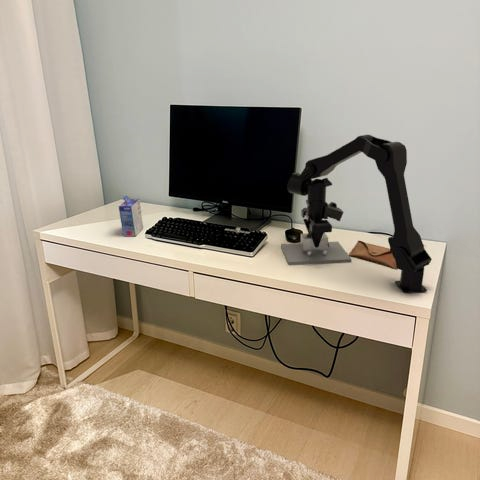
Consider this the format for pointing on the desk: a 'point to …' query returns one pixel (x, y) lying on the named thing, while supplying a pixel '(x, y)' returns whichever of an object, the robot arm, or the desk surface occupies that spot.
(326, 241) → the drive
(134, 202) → the ink cartridge box
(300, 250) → the pin tray
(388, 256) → the sunglasses case
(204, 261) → the desk surface
